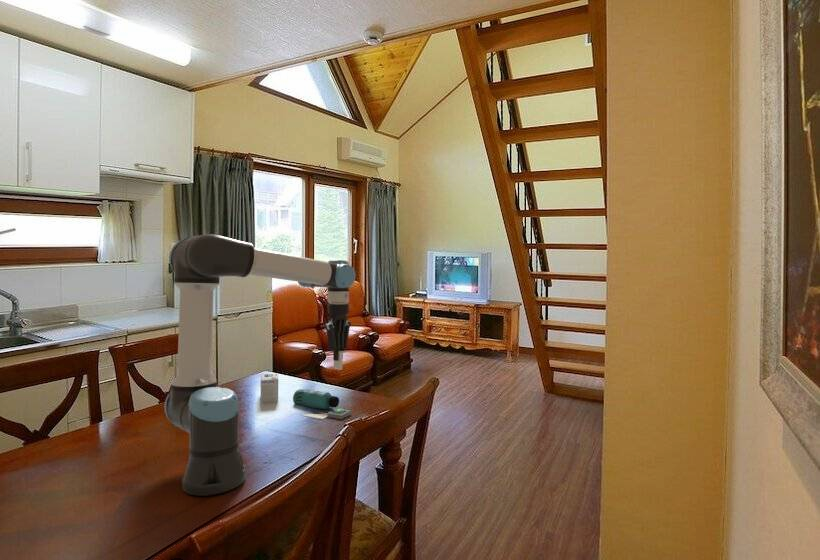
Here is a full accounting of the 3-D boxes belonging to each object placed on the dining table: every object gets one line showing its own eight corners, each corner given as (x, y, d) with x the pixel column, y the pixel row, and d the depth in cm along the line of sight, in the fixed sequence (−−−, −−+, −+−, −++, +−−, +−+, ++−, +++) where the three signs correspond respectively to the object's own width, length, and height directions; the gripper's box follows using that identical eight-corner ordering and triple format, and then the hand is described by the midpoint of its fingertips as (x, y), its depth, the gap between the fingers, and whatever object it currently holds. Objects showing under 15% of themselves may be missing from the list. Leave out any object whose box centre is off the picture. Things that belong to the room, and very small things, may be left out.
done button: (340, 416, 161) (340, 411, 161) (332, 414, 163) (332, 410, 163) (345, 413, 164) (345, 409, 164) (338, 412, 166) (338, 408, 166)
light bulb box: (260, 400, 184) (260, 374, 184) (278, 399, 186) (277, 373, 186) (260, 408, 174) (260, 379, 174) (278, 406, 176) (278, 378, 176)
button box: (341, 419, 160) (341, 415, 160) (327, 417, 162) (327, 412, 162) (350, 414, 165) (350, 410, 165) (337, 412, 168) (337, 408, 168)
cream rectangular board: (322, 419, 160) (322, 418, 160) (295, 414, 165) (295, 413, 165) (348, 407, 174) (348, 406, 174) (323, 403, 179) (323, 402, 179)
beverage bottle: (303, 396, 181) (344, 401, 172) (293, 409, 177) (335, 415, 167) (296, 384, 178) (338, 389, 169) (286, 397, 173) (329, 402, 164)
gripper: (336, 304, 156) (335, 373, 156) (357, 302, 167) (357, 367, 167) (318, 303, 159) (318, 371, 159) (340, 302, 171) (340, 365, 171)
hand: (338, 369), depth 163 cm, fingers closed
